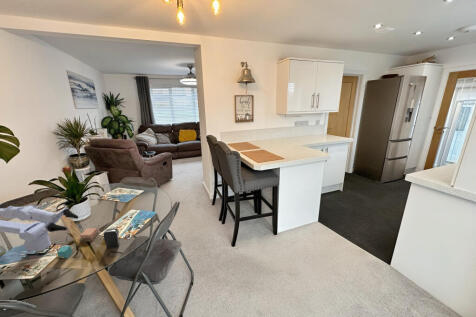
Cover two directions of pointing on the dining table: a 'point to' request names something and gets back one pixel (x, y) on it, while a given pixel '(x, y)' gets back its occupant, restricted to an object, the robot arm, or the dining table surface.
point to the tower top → (88, 233)
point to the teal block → (65, 251)
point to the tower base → (89, 238)
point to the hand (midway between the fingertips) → (72, 222)
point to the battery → (111, 238)
